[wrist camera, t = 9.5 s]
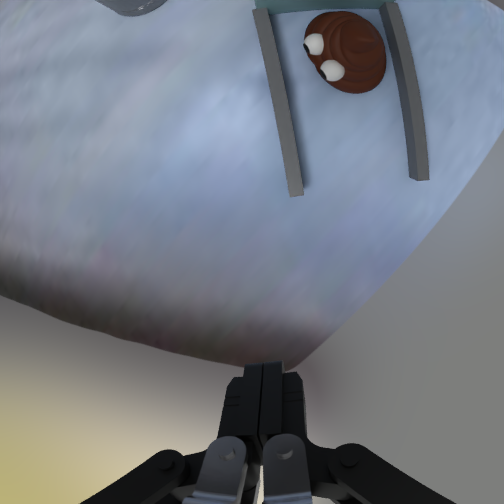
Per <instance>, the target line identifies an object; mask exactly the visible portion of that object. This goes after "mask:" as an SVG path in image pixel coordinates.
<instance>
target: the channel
mask: <svg viewBox="0 0 504 504" xmlns="http://www.w3.org/2000/svg"><path fill="white" fill-rule="evenodd" d="M394 1H395V0H255V5H256V9H254V10H252V11H253V16H254V20H255V24H256V28H257V33H258V37H259V41H260V46H261V50H262V55H263V59H264V64H265V68H266V73H267V78H268V83H269V87H270V92H271V97H272V102H273V107H274V112H275V117H276V122H277V128H278V133H279V138H280V144H281V149H282V155H283V160H284V166H285V172H286V178H287V184H288V190H289V195H290V197H295V196H302V195H304V191H303V184H302V178H301V172H300V165H299V159H298V154H297V148H296V142H295V136H294V131H293V125H292V120H291V115H290V110H289V104H288V99H287V94H286V90H285V85H284V80H283V75H282V71H281V66H280V61H279V57H278V52H277V48H276V44H275V39H274V35H273V31H272V27H271V23H270V19H269V15H272V14H280V13H288V12H297V11H308V10H322V9H379V12H380V15H381V19H382V22H383V26H384V29H385V33H386V37H387V40H388V44H389V48H390V52H391V57H392V61H393V65H394V70H395V75H396V80H397V85H398V90H399V96H400V102H401V108H402V114H403V121H404V128H405V136H406V145H407V154H408V165H409V177H410V178H412V179H415V180H417V181H424V180H429V165H428V152H427V142H426V133H425V125H424V117H423V110H422V104H421V98H420V92H419V86H418V81H417V76H416V71H415V66H414V62H413V57H412V53H411V49H410V45H409V41H408V37H407V34H406V30H405V27H404V23H403V20H402V16H401V13H400V10H399V7H398V4H397V3H393V2H394Z"/></svg>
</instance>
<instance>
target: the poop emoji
mask: <svg viewBox="0 0 504 504" xmlns="http://www.w3.org/2000/svg"><path fill="white" fill-rule="evenodd" d="M303 46H304V49H305V50H306V52H307V55H308V57H309V58H310V60H311V61H312V62H313V64H314V65H315V67H316V69H317V71H318V73H319V74H320V75H321V77H322V78H323V79H324V80H325V81H326V82H327V83H329V84H330V85H331V86H333V87H334V88H336V89H338V90H341V91H343V92H347V93H353V94H359V93H365V92H368V91H370V90H372V89H374V88H375V87H376V86H377V85H378V84H379V83H380V82H381V80H382V78H383V76H384V73H385V69H386V54H385V46H384V43H383V40H382V37H381V36H380V34H379V32H378V31H377V29H376V28H375V27H374V26H373V25H372V24H371V23H370V22H369V21H367V20H366V19H364V18H362V17H361V16H359V15H357V14H354V13H351V12H346V11H338V12H326V13H323V14H321V15H319V16H317V17H315V18H314V19H313V20H312V21H311V22H310V24H309V25H308V27H307V29H306V32H305V37H304V44H303Z"/></svg>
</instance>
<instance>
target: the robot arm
mask: <svg viewBox="0 0 504 504" xmlns="http://www.w3.org/2000/svg"><path fill="white" fill-rule="evenodd" d="M95 1H97V2H99V3H101V4H103V5H104V6H106V7H108V8H110V9H111V10H113V11H115V12H117V13H118V14H120V15H123V16H139V15H142V14H146V13H148V12H150V11H152V10H154V9H156V8H157V7H159V6H160V5H162V4H163V3H164V2H165V1H166V0H95ZM261 465H263V481H264V501H263V502H262V504H312V496H317V497H322V498H329V499H331V500H332V501H333V502H334V503H335V504H456V503H454V502H452V501H451V500H449V499H447V498H445V497H443V496H442V495H440V494H438V493H436V492H435V491H433V490H431V489H430V488H428V487H426V486H425V485H422V484H421V483H419V482H418V481H416V480H415V479H413V478H411V477H410V476H408V475H407V474H405V473H403V472H402V471H400V470H399V469H397V468H395V467H394V466H393V465H391V464H389V463H388V462H386V461H385V460H383V459H382V458H380V457H379V456H377V455H376V454H374V453H373V452H371V451H370V450H368V449H367V448H366V447H364V446H362V445H360V444H354V443H350V444H344V445H341V446H339V447H337V448H336V449H330V448H323V447H319V446H317V445H315V444H313V443H311V442H310V441H309V439H308V438H307V425H306V407H305V397H304V389H303V381H302V379H301V378H300V376H299V375H298V374H297V372H290V373H285V369H284V364H283V361H273V362H265V363H253V364H245V368H244V375H243V377H234V378H233V379H232V381H231V382H230V383H229V385H228V386H227V390H226V395H225V400H224V407H223V411H222V416H221V421H220V426H219V431H218V436H217V439H216V440H214V441H213V442H212V443H211V444H210V445H209V447H208V449H206V450H204V451H202V452H199V453H194V454H190V455H185V456H183V455H182V454H181V453H179V452H178V451H175V450H163V451H160V452H158V453H156V454H155V455H153V456H152V457H151V458H149V459H148V460H146V461H145V462H144V463H142V464H141V465H139V466H138V467H136V468H135V469H133V470H132V471H130V472H129V473H127V474H126V475H124V476H123V477H121V478H120V479H119V480H117V481H115V482H114V483H112V484H111V485H109V486H108V487H106V488H104V489H103V490H101V491H100V492H98V493H96V494H95V495H93V496H91V497H90V498H88V499H86V500H85V501H83V502H81V503H80V504H257V498H258V493H259V487H260V466H261Z"/></svg>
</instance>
